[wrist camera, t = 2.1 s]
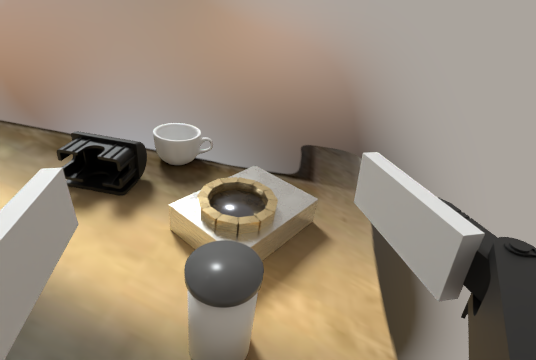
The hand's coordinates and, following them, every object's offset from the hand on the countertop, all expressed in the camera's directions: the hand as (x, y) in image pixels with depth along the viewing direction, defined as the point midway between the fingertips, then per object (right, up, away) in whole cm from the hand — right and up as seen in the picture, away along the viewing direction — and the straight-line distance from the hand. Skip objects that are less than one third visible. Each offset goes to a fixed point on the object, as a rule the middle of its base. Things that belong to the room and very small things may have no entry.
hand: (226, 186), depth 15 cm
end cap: (-23, 0, +36) cm, 43 cm away
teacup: (-13, +4, +44) cm, 46 cm away
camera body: (-1, -6, +30) cm, 31 cm away
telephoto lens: (-3, -15, +15) cm, 22 cm away
